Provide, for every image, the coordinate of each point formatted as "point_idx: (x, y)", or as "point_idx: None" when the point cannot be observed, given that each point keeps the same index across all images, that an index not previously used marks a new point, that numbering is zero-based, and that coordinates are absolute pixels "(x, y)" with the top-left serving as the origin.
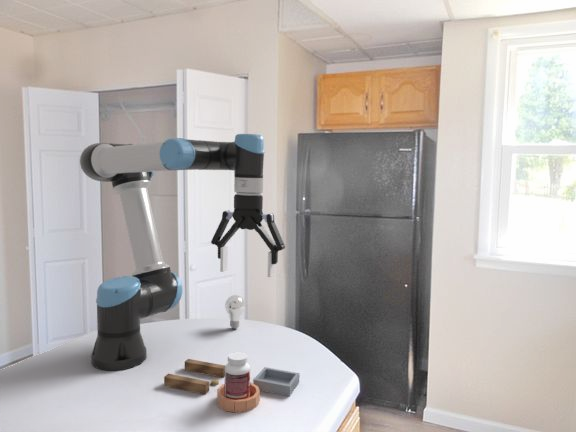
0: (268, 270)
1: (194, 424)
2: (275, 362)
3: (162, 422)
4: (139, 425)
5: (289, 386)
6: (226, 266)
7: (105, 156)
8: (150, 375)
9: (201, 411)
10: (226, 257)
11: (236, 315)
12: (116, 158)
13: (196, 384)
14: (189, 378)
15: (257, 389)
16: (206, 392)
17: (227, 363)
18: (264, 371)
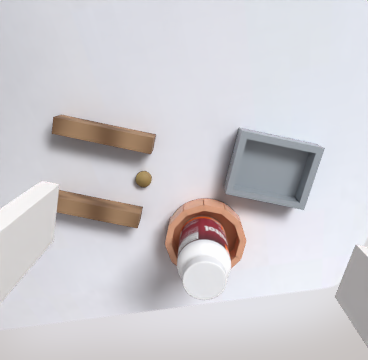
0: (357, 323)
1: (154, 303)
2: (257, 46)
3: (105, 305)
4: (77, 316)
5: (302, 209)
6: (48, 205)
7: None
8: (4, 166)
9: (152, 270)
10: (15, 237)
11: None
12: None
13: (118, 223)
14: (96, 208)
15: (240, 232)
16: (140, 217)
17: (180, 264)
18: (243, 150)
